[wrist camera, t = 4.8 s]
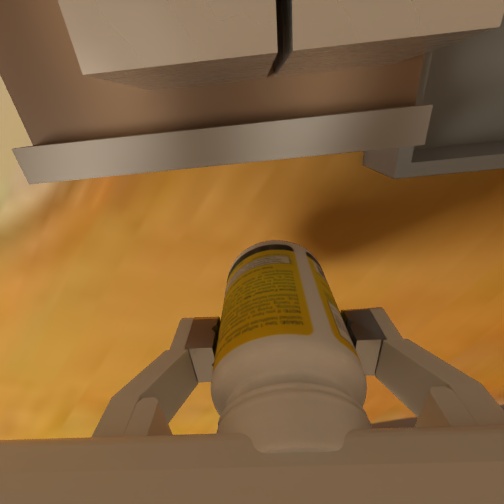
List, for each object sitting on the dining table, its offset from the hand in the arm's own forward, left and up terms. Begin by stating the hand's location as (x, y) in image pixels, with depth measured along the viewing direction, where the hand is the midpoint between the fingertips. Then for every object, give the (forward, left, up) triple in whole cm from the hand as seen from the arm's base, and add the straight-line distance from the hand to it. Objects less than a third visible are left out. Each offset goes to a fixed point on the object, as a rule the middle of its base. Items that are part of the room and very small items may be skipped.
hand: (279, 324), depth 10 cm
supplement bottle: (0, 0, -3) cm, 3 cm away
